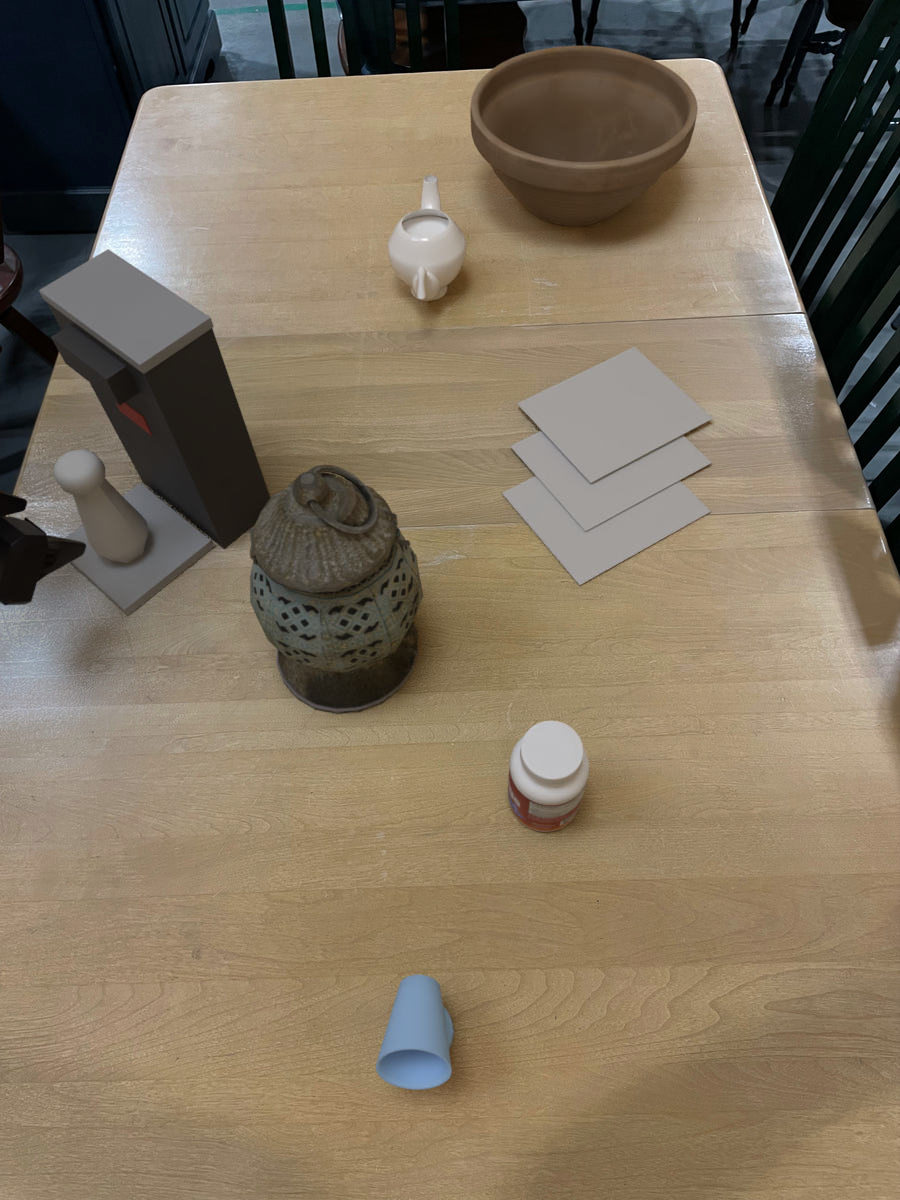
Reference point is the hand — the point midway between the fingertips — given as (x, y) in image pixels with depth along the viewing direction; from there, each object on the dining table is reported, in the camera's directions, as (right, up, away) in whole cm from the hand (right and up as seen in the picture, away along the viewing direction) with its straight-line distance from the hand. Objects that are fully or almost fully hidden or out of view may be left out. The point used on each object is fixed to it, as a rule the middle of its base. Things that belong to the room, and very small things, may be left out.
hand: (54, 526), depth 78 cm
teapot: (+34, +33, +31) cm, 56 cm away
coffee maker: (+6, +1, +12) cm, 13 cm away
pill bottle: (+44, -24, -5) cm, 51 cm away
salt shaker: (+3, -1, +9) cm, 10 cm away
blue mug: (+34, -39, -15) cm, 54 cm away
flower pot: (+54, +49, +40) cm, 83 cm away
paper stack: (+54, +9, +15) cm, 56 cm away
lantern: (+27, -11, +3) cm, 29 cm away
